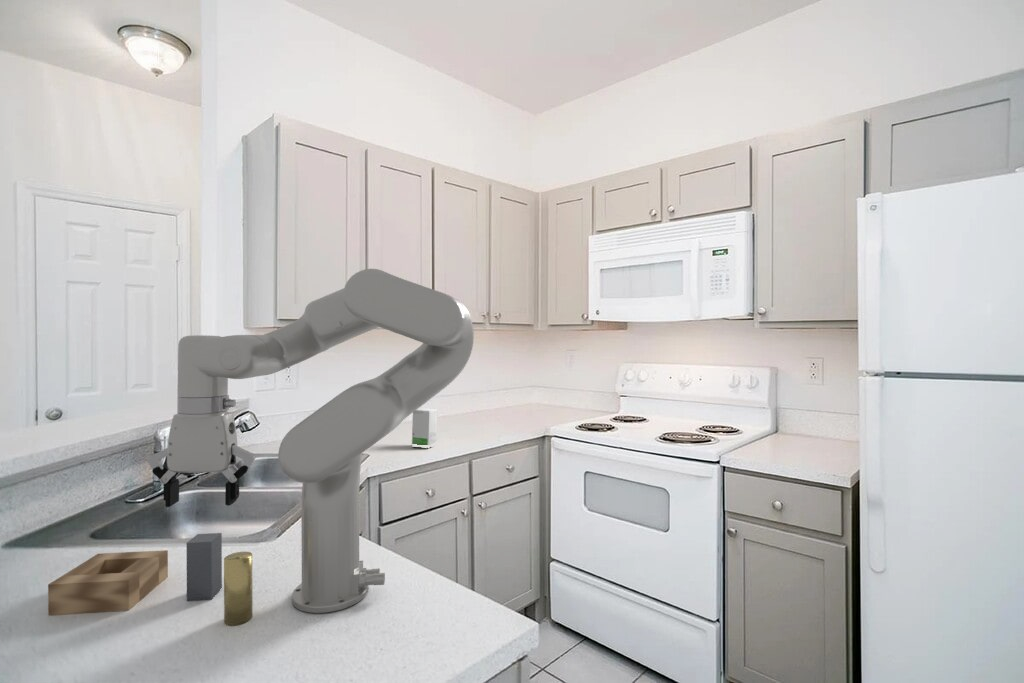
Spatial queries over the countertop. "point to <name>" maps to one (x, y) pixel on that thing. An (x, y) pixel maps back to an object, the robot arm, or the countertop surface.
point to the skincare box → (424, 426)
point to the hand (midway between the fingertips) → (201, 503)
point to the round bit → (238, 588)
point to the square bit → (204, 566)
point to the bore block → (108, 582)
